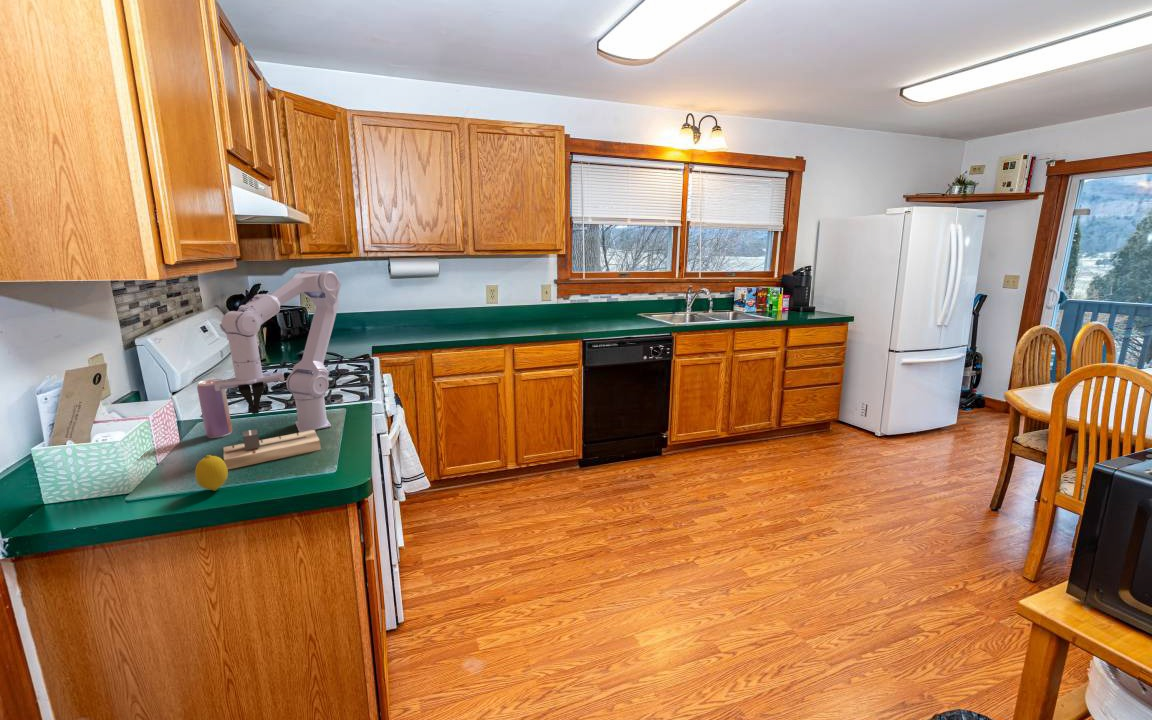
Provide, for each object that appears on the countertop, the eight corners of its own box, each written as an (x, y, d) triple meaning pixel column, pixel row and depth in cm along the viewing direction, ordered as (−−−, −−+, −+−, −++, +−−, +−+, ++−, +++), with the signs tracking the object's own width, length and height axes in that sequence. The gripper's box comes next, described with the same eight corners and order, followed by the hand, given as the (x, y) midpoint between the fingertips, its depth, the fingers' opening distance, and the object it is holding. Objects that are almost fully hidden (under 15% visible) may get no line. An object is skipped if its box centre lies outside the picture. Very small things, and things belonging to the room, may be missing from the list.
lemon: (221, 482, 112) (214, 448, 110) (236, 487, 110) (229, 452, 108) (193, 493, 107) (186, 457, 106) (208, 499, 105) (201, 462, 103)
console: (225, 456, 125) (223, 446, 125) (315, 438, 136) (314, 429, 136) (225, 470, 118) (223, 459, 118) (320, 449, 129) (319, 439, 128)
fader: (244, 444, 125) (242, 431, 124) (258, 442, 127) (256, 428, 126) (245, 450, 122) (243, 436, 121) (260, 447, 123) (257, 433, 123)
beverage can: (219, 439, 136) (209, 385, 133) (200, 438, 137) (190, 384, 134) (238, 431, 142) (229, 379, 138) (220, 429, 143) (210, 378, 140)
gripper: (210, 368, 118) (221, 423, 121) (282, 358, 126) (290, 411, 129) (210, 362, 124) (220, 415, 127) (278, 353, 132) (286, 403, 135)
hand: (255, 412), depth 129 cm, fingers closed
